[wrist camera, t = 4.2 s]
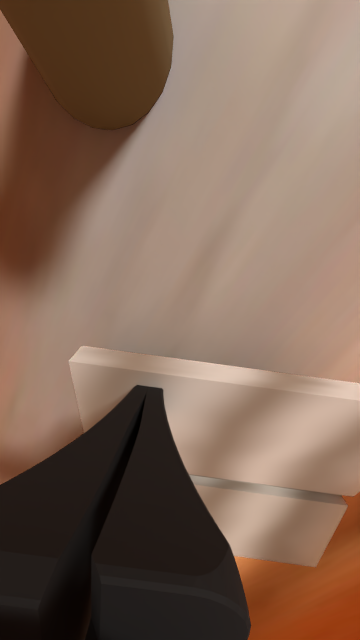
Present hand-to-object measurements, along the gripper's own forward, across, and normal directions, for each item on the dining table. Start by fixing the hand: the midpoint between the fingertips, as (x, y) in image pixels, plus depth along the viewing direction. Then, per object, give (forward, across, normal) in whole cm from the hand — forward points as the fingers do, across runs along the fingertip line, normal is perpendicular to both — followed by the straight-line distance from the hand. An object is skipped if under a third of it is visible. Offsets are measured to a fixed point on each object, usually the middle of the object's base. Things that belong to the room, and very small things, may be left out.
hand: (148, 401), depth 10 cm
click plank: (+2, -5, +2) cm, 6 cm away
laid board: (+3, -5, +11) cm, 12 cm away
